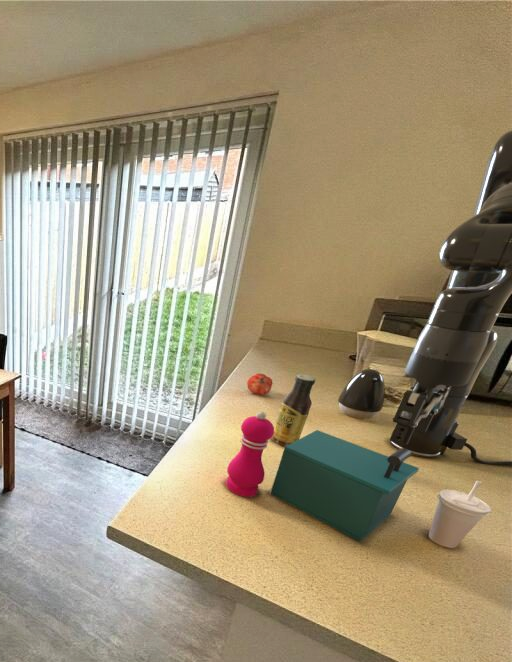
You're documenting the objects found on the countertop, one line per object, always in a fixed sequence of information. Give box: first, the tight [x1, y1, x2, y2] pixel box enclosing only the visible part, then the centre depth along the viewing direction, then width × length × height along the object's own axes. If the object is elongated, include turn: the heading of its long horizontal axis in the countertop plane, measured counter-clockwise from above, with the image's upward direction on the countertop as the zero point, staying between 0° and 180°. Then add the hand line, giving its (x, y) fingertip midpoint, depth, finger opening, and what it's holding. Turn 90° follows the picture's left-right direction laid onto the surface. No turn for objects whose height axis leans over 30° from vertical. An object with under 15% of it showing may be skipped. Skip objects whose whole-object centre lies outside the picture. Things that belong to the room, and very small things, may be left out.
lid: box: [283, 429, 420, 495], centre depth 79 cm, size 17×14×6 cm
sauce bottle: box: [270, 373, 317, 447], centre depth 104 cm, size 6×6×20 cm
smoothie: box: [428, 480, 491, 549], centre depth 73 cm, size 6×6×14 cm
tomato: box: [246, 372, 273, 396], centre depth 137 cm, size 7×7×10 cm
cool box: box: [270, 449, 408, 542], centre depth 83 cm, size 17×14×12 cm
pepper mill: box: [225, 411, 274, 498], centre depth 87 cm, size 7×7×20 cm
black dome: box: [337, 368, 386, 420], centre depth 119 cm, size 10×10×15 cm
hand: (407, 436), depth 71 cm, fingers open, 8 cm apart
